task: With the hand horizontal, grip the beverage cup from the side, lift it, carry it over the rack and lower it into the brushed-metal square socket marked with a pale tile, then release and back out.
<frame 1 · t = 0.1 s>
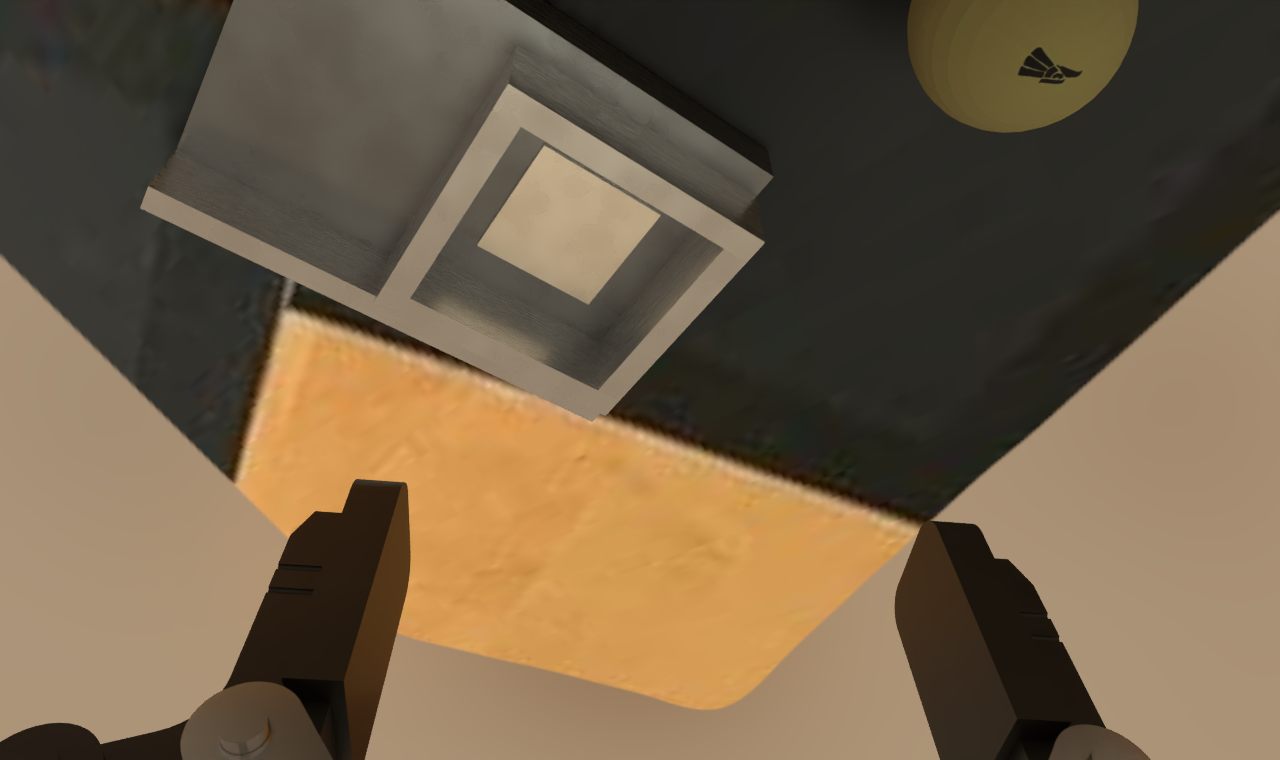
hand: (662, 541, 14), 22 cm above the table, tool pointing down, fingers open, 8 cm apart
rack: (479, 147, 34), on the table
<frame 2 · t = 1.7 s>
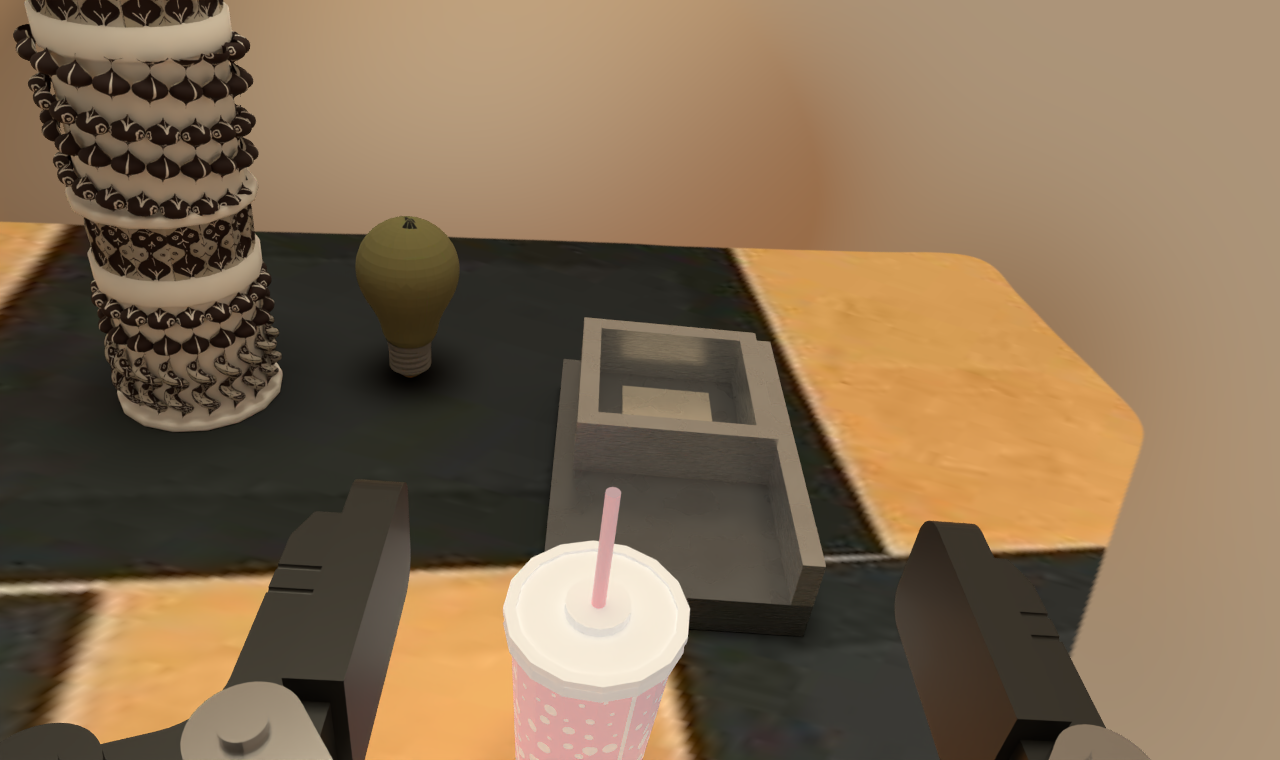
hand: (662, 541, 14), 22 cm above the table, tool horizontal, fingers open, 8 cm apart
light bulb: (411, 376, 54), on the table
rack: (664, 493, 48), on the table
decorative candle: (204, 389, 51), on the table
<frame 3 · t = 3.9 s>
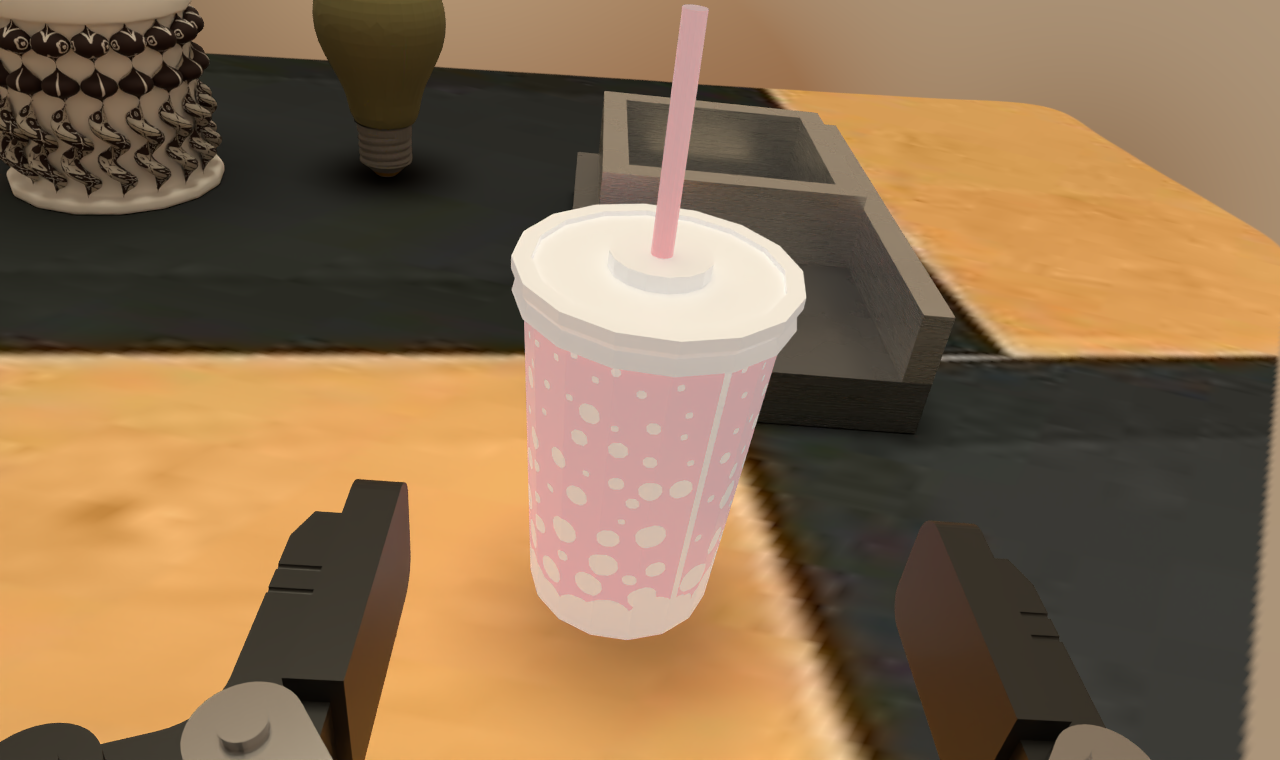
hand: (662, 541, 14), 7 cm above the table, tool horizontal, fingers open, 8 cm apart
beverage cup: (618, 575, 24), on the table
light bulb: (388, 178, 44), on the table
rack: (713, 289, 37), on the table
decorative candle: (122, 180, 40), on the table
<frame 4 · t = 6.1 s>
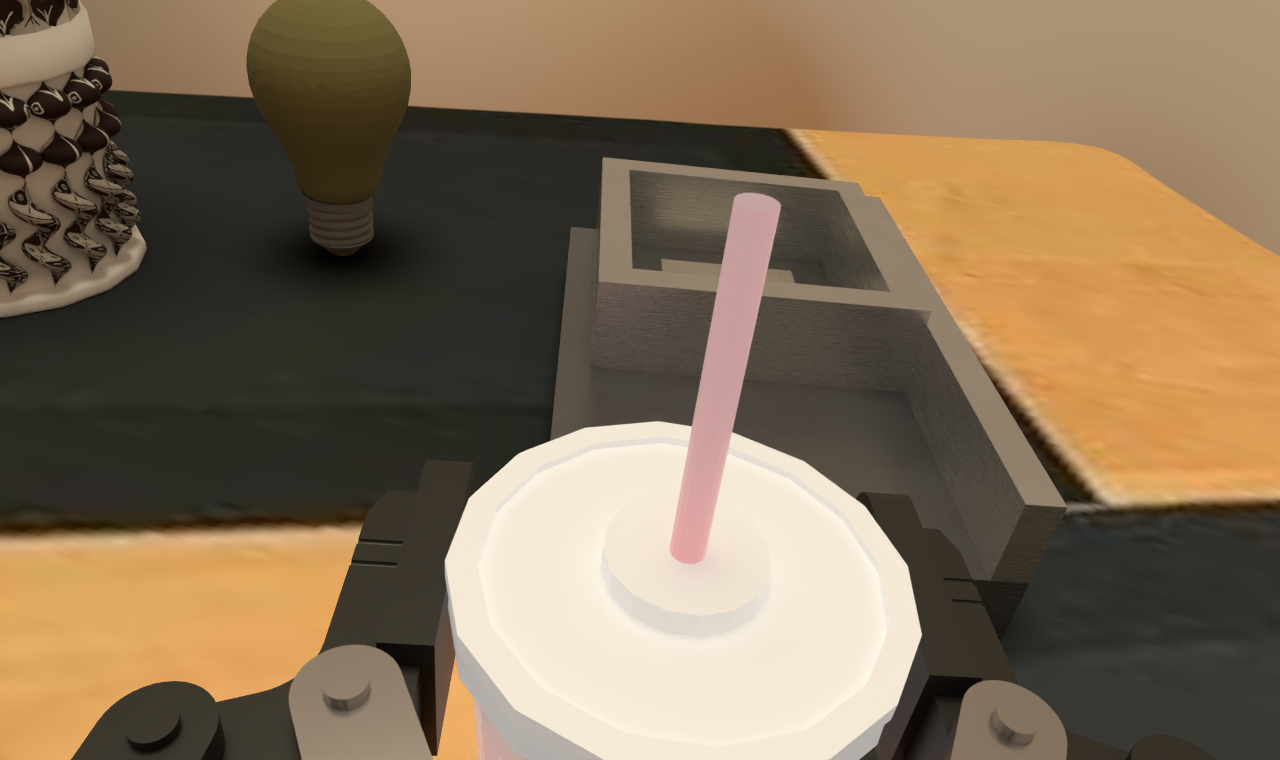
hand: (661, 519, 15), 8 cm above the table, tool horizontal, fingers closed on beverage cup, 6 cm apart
light bulb: (345, 256, 37), on the table
rack: (735, 412, 30), on the table
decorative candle: (19, 265, 33), on the table
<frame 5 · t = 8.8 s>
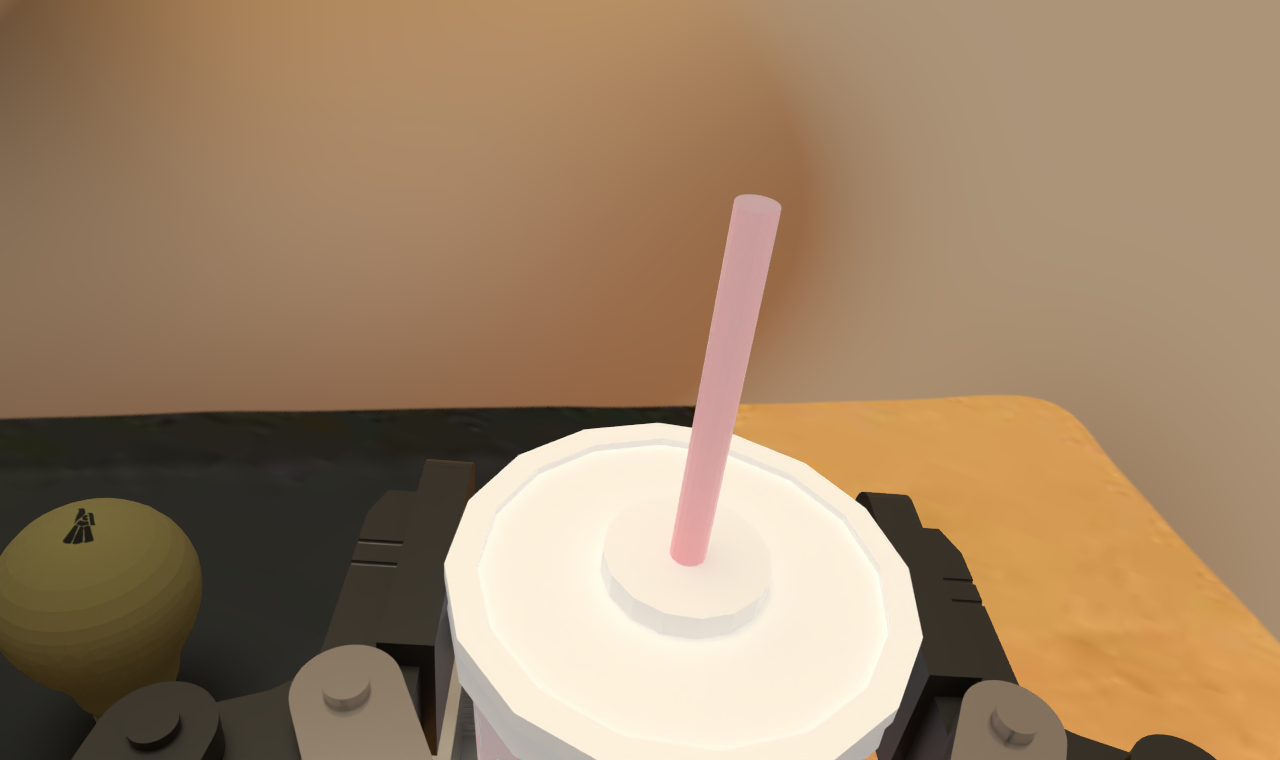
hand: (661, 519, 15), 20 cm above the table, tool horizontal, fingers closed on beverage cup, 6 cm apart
light bulb: (147, 736, 32), on the table
when the fingers open (11 cm above the table, at t = 12.0 s): beverage cup stays where it is, resting on rack.
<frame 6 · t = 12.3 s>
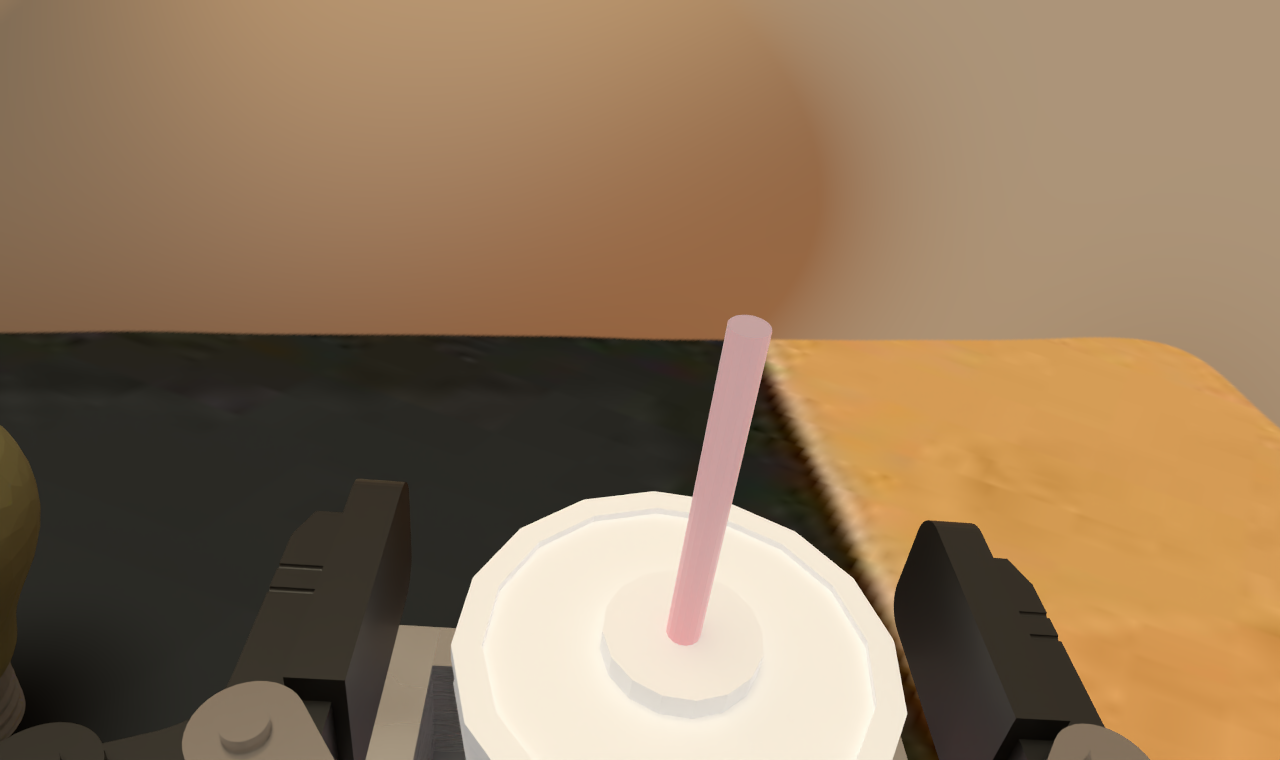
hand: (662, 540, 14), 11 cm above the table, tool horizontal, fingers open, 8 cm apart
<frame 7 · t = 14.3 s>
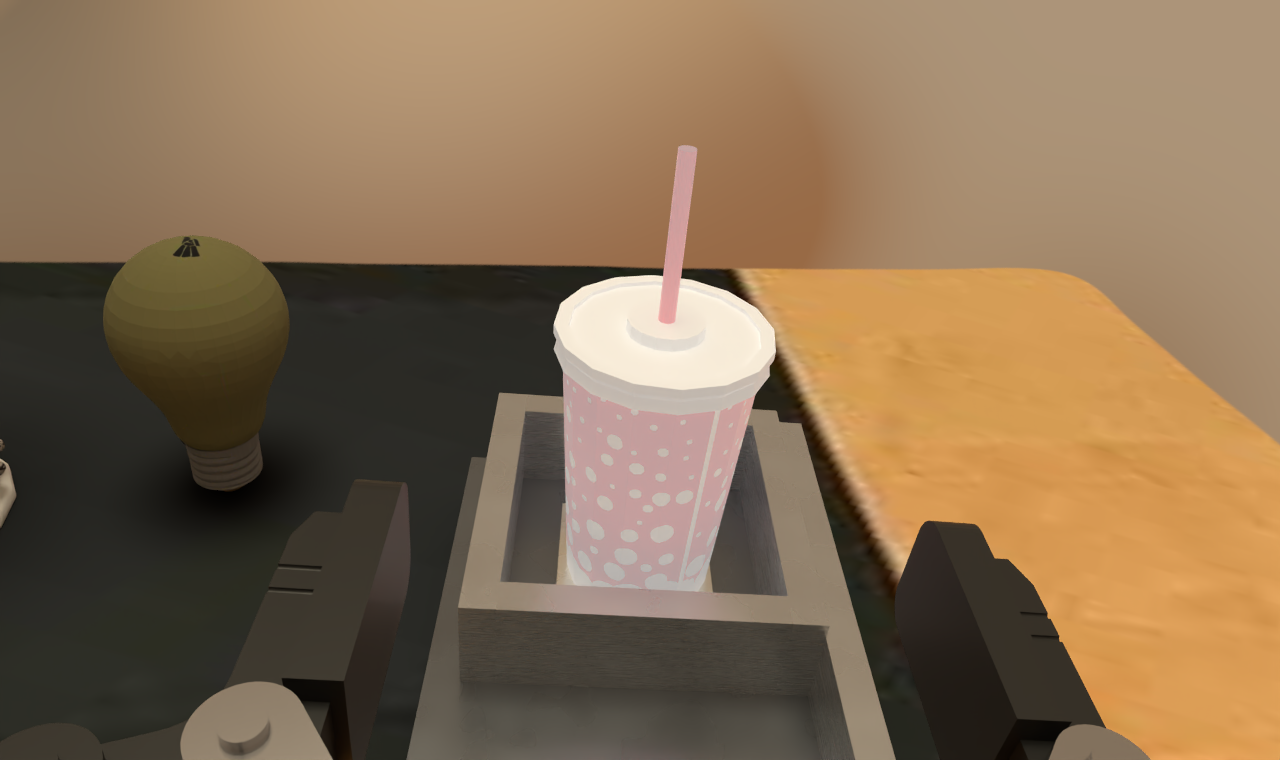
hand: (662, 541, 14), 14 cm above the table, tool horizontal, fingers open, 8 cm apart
beverage cup: (636, 566, 30), point 2 cm above the table, touching rack
light bulb: (233, 488, 34), on the table
rack: (629, 703, 28), on the table
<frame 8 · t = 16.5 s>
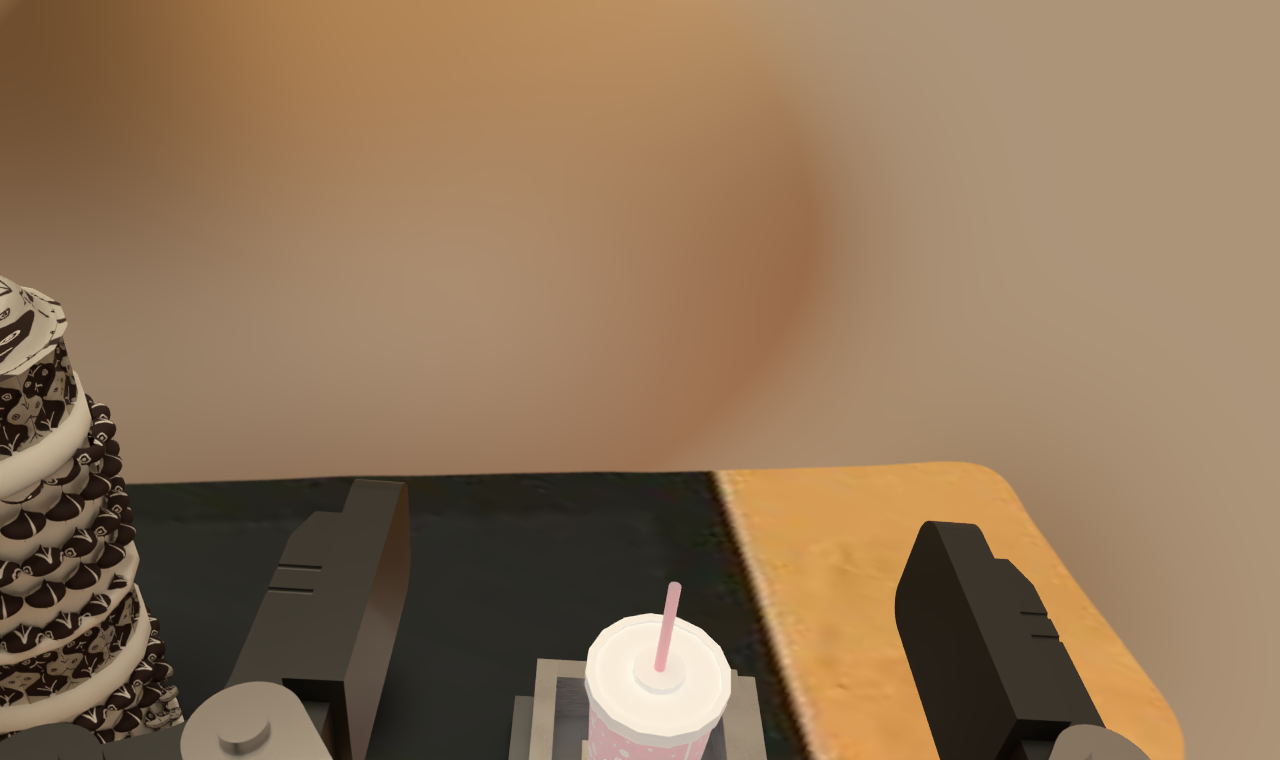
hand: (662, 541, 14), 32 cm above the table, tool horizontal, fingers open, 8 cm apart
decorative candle: (90, 756, 44), on the table
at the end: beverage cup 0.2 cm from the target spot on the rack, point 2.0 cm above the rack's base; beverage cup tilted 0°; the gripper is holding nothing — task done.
